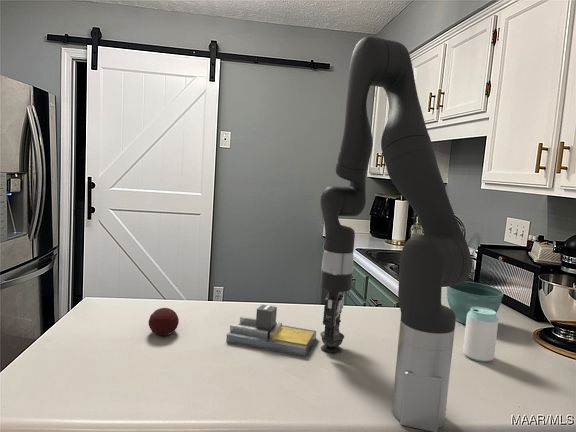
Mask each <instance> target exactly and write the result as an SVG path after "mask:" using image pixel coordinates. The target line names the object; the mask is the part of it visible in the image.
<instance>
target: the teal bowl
mask: <svg viewBox="0 0 576 432" xmlns="http://www.w3.org/2000/svg"><path fill="white" fill-rule="evenodd" d="M503 297H504V292H503V290H501V289H499V288H497V287H495V286H491V285H487V284H483V283H480V282H473V281H466V280H465V281H464V282H463V283H461V284H458V285H453V286H446V300H447V302H448V306H449V308H450V309H451V310H453V311H454V313H455V315H456V321H457V322H458V323H459V324H464V325H466V319H467V313H468V312H469V311H470V310H471V308H472V307H483V308H488V309H491V310H493V311H495V312H496V314H497V312H498V311H499V309H500V307H501V304H502V300H503Z"/></svg>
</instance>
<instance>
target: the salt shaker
mask: <svg viewBox="0 0 576 432" xmlns="http://www.w3.org/2000/svg"><path fill="white" fill-rule="evenodd" d="M339 318H340V319H339ZM328 320H332V316H328ZM341 322H342V320H341V314H340V311H339V316H338V317H337V318H336V322H335V323H336V325H335V329H334V339H333V341H327V340H325V339H324V332H325V330H324V331H321V332H320V337H321V341H322V343H323V344H322V345H321V346H320V350H321V352H324V353H327V354H331V355H336V354H337V355H338V354H340V353H342V352H343V349H342V347H341V346H340V345H342V343H343V340H344V339H345V335H344V333H342V332H340V326H339V323H341Z"/></svg>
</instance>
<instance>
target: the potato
mask: <svg viewBox="0 0 576 432" xmlns="http://www.w3.org/2000/svg"><path fill="white" fill-rule="evenodd" d="M179 320H180V319H179V316H178V314H177V312H175V310H174V309H172V308H169V307H161V308H158V309H155V310H154V311H153V312H152V313H151V314H150V316H149V319H148V326H149V329H150V331H151V332H152V333H154V334H155V335H157V336H161V337H164V336H168V335H171V334H172V333H174V332H175V331H176V330H177V328H178V325H179V323H180V321H179Z"/></svg>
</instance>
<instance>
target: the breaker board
mask: <svg viewBox="0 0 576 432" xmlns="http://www.w3.org/2000/svg"><path fill="white" fill-rule="evenodd" d="M316 338H317V330H314V329H307V328H301V327H296V326H295V327H294V326H290V325H284V324H283V323H282V322H280V321H278V322H277V321H276V326H275V327H274V328H273V330H272V331H271V332H270V335H269V330H264V329H258V328H256V317H249V316H243V315H241V316H240V317H239V323H238V324H234V323H231V324H230V325H229V332H228V333H226V343H229V344H235V345H239V346H244V345H245V346H244V347H249V346H250V347H249V348H255V349H259V350H260V349H261V350H265V349H266V350H267V351H271V352H277V353H281V354H288V355H293V356H298V357H303V358H304V357H306V356H307V354H308V352H309V350H310V349H311V348H312V346H313V344H314V343H315V341H316ZM266 350H265V351H266Z"/></svg>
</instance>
